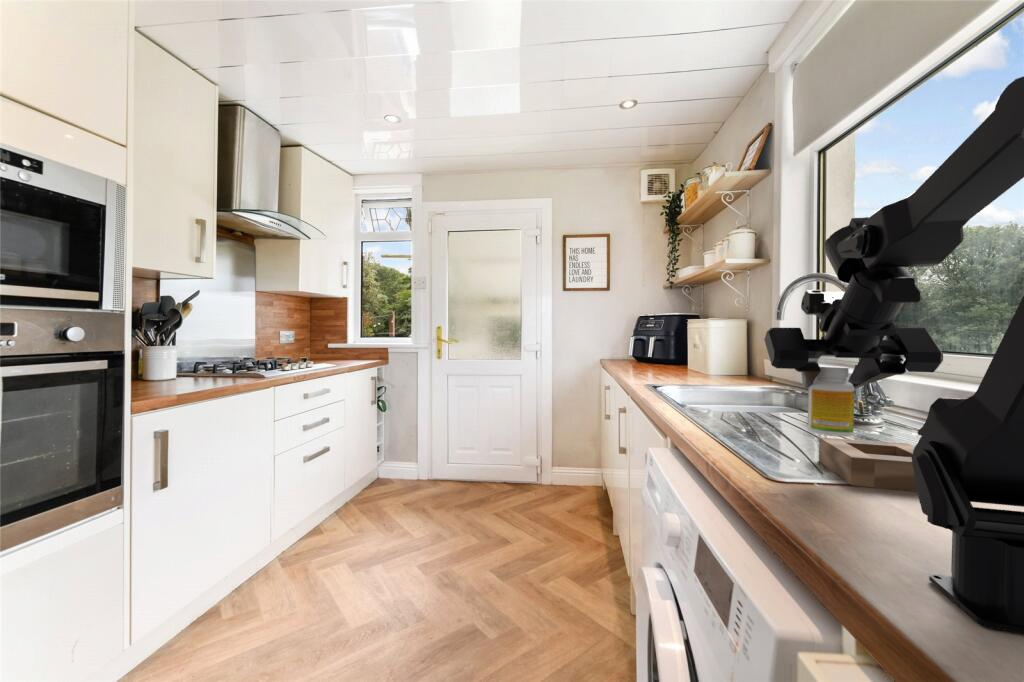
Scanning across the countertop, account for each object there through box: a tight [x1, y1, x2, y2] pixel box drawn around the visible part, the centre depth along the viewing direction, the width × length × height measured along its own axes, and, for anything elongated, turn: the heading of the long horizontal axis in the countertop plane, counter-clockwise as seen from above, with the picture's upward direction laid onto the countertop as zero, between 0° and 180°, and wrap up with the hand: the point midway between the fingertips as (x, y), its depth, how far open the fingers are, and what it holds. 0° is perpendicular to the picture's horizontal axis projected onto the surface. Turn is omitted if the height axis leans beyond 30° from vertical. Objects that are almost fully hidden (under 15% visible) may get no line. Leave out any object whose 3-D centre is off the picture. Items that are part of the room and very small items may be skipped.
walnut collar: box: [818, 436, 918, 493], centre depth 64 cm, size 12×12×4 cm
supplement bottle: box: [807, 365, 855, 438], centre depth 62 cm, size 5×5×10 cm
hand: (826, 386), depth 64 cm, fingers closed on supplement bottle, 5 cm apart
